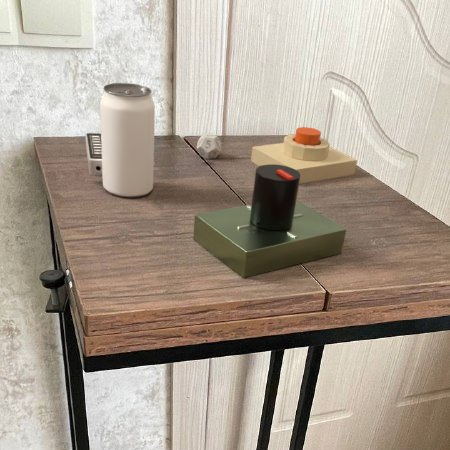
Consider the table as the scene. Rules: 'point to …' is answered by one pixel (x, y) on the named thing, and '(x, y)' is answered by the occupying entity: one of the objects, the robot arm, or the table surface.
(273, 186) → the knob
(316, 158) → the button box
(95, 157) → the multiport hub
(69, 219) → the table surface
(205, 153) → the game die
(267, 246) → the panel
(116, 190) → the can
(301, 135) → the button
